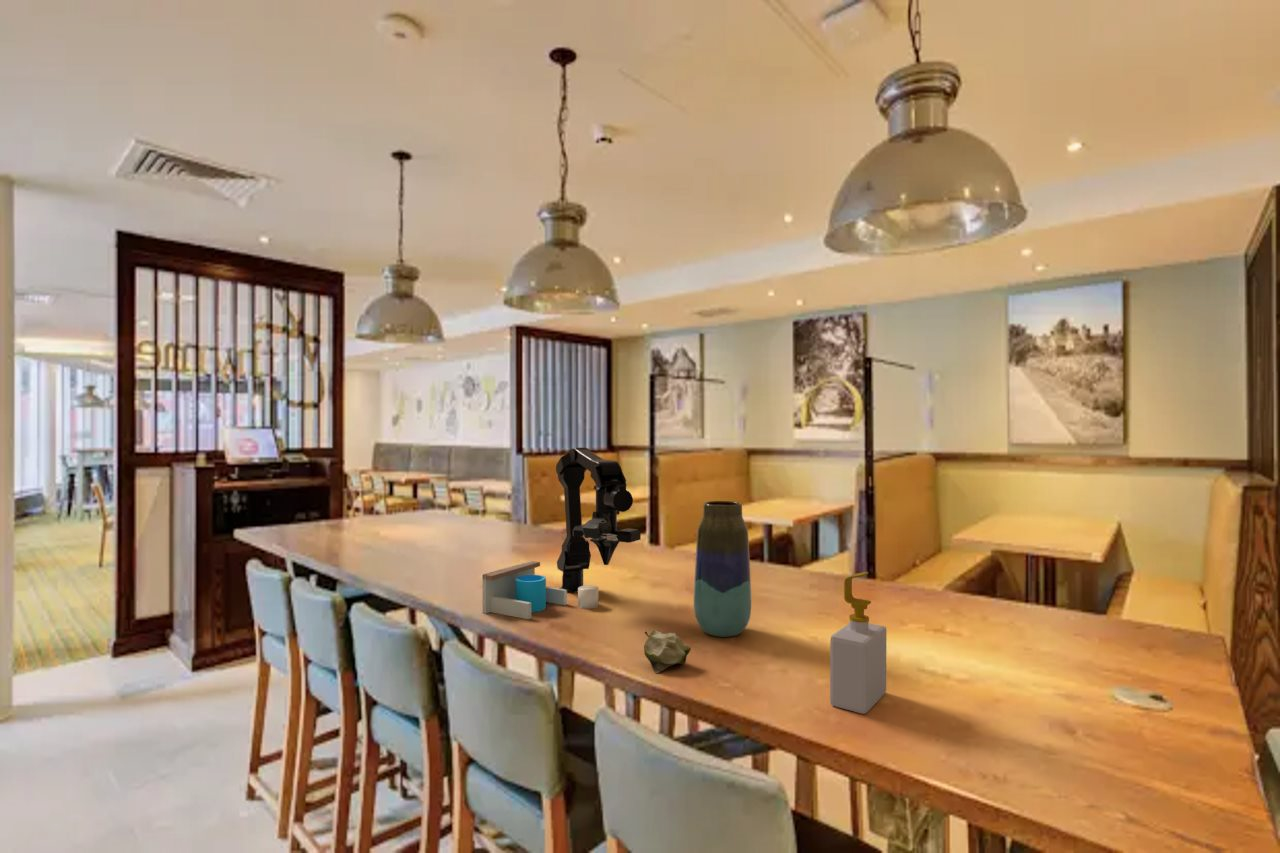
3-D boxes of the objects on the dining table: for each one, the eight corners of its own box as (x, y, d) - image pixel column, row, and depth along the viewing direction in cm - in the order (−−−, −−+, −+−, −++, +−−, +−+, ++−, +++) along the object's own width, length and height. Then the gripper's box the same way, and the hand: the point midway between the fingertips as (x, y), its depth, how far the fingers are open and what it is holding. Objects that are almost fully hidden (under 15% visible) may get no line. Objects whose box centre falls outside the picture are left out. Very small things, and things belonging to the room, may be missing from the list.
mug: (549, 610, 177) (549, 580, 177) (520, 613, 174) (520, 583, 174) (536, 599, 188) (536, 570, 188) (508, 602, 185) (508, 573, 185)
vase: (682, 632, 159) (682, 503, 158) (716, 619, 169) (716, 498, 169) (729, 645, 149) (729, 508, 149) (762, 631, 159) (762, 502, 159)
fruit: (636, 669, 139) (636, 629, 140) (674, 665, 143) (674, 627, 144) (656, 675, 131) (656, 633, 132) (696, 671, 135) (695, 631, 136)
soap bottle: (865, 716, 113) (866, 581, 113) (828, 706, 117) (829, 575, 117) (887, 693, 123) (888, 568, 123) (852, 684, 127) (853, 564, 127)
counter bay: (531, 595, 192) (531, 560, 192) (570, 602, 185) (570, 566, 184) (482, 612, 174) (482, 574, 174) (523, 621, 167) (523, 581, 167)
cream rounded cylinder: (585, 602, 185) (585, 584, 185) (602, 604, 182) (602, 587, 182) (574, 606, 180) (574, 588, 180) (590, 609, 178) (590, 591, 178)
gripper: (560, 508, 176) (560, 566, 176) (619, 513, 166) (619, 574, 167) (584, 504, 186) (584, 559, 186) (641, 508, 176) (641, 566, 176)
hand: (606, 564), depth 178 cm, fingers closed
